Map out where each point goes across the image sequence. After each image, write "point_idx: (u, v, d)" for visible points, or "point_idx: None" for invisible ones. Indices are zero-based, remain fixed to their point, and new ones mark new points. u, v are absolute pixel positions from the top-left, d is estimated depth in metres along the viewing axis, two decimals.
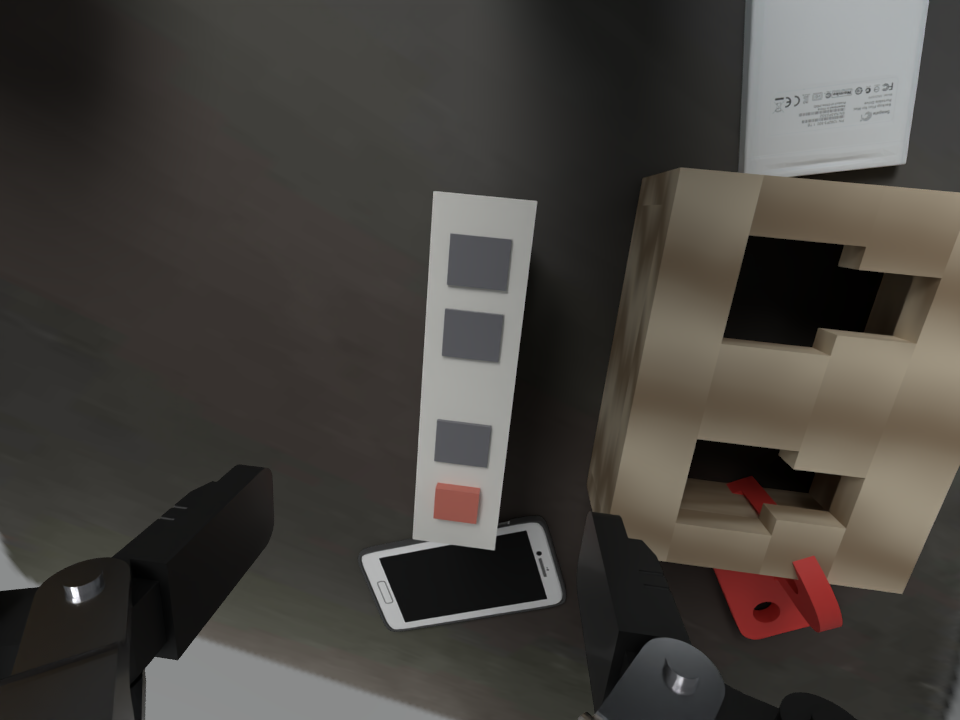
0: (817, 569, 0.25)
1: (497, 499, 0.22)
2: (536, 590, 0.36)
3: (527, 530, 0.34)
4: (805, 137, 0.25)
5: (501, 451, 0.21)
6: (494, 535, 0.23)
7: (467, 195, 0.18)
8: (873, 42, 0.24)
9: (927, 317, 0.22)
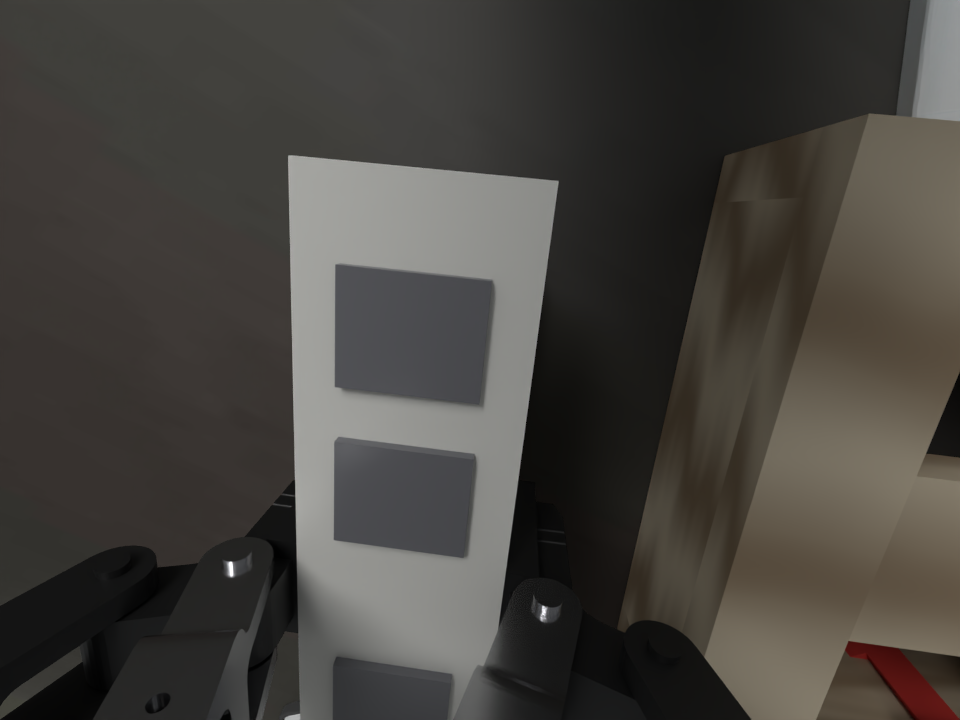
0: None
1: None
2: None
3: None
4: None
5: None
6: None
7: (375, 166, 0.07)
8: None
9: None
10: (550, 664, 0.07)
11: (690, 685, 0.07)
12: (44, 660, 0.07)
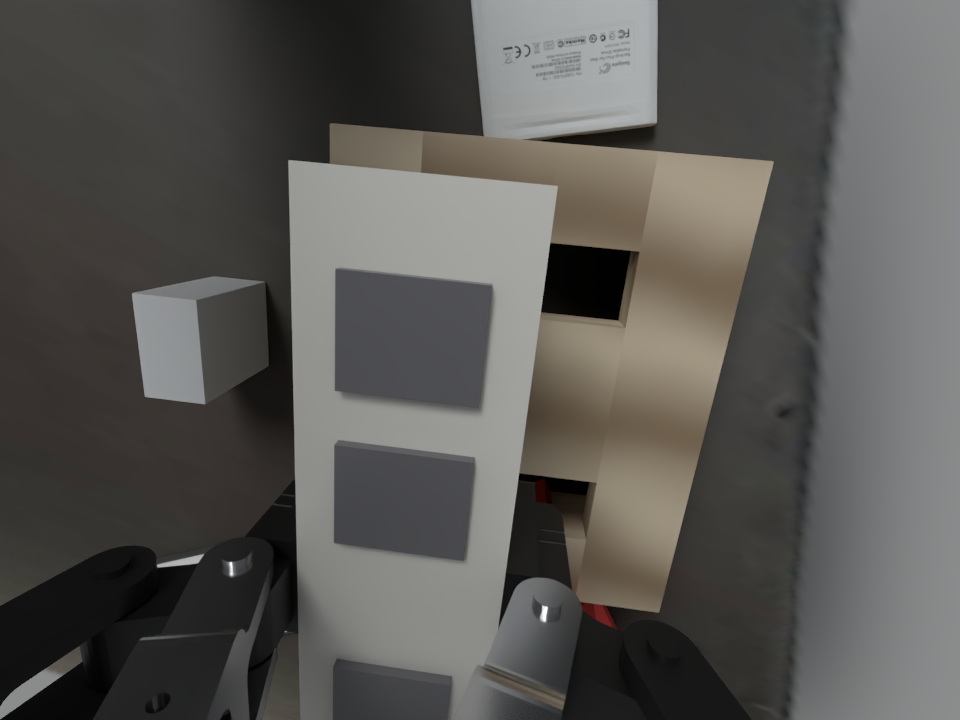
0: None
1: None
2: None
3: None
4: (542, 92, 0.22)
5: None
6: None
7: (375, 171, 0.07)
8: None
9: (632, 297, 0.19)
10: (550, 664, 0.07)
11: (690, 685, 0.07)
12: (44, 660, 0.07)
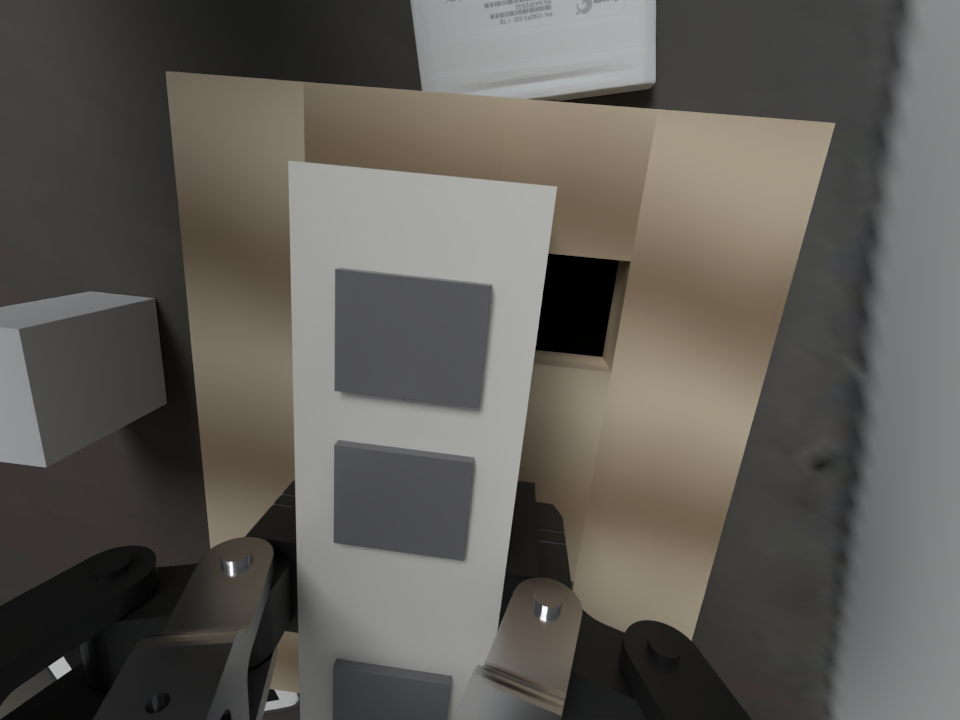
0: None
1: None
2: None
3: None
4: (499, 41, 0.16)
5: None
6: None
7: (375, 171, 0.07)
8: None
9: (621, 328, 0.13)
10: (550, 664, 0.07)
11: (690, 685, 0.07)
12: (44, 660, 0.07)
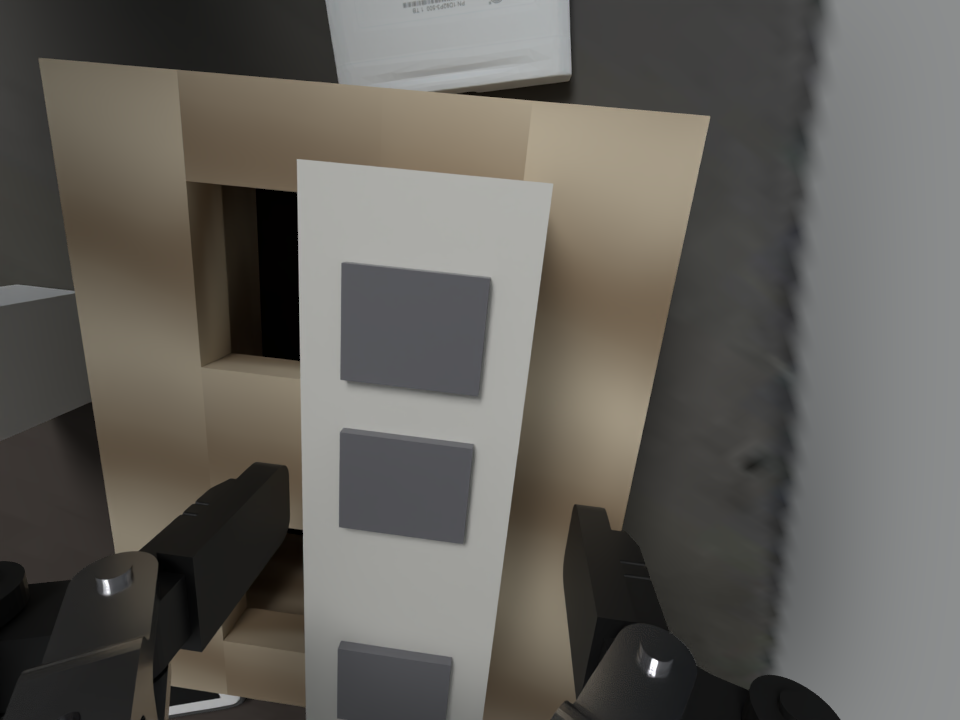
0: None
1: None
2: None
3: None
4: (413, 30, 0.16)
5: (473, 702, 0.10)
6: None
7: (379, 169, 0.07)
8: None
9: None
10: None
11: None
12: None
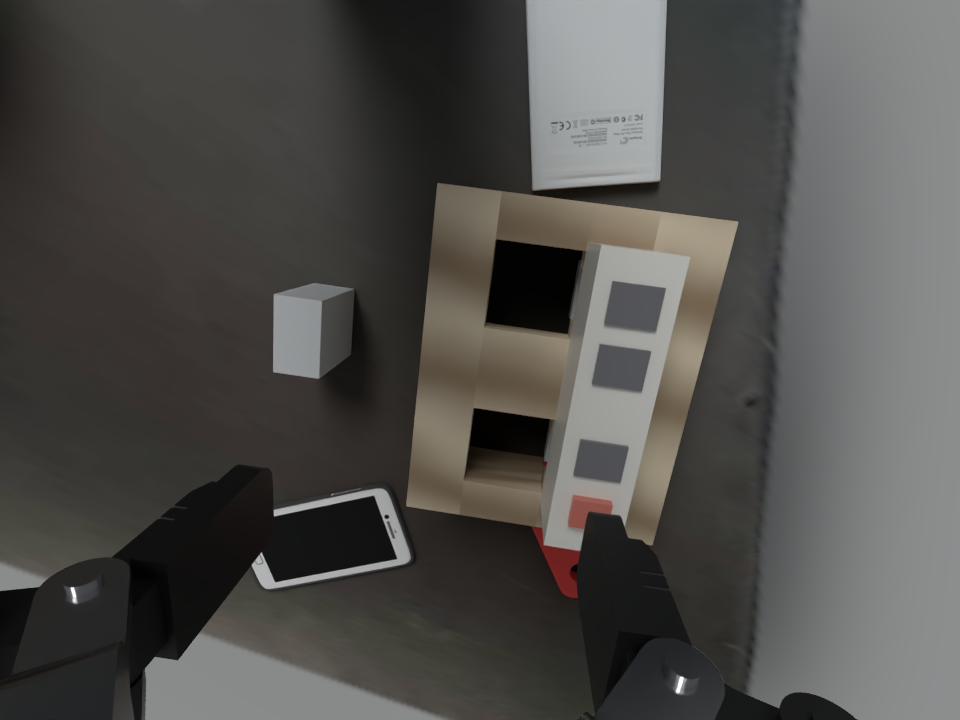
0: None
1: (625, 511, 0.25)
2: (387, 551, 0.40)
3: (375, 495, 0.39)
4: (577, 155, 0.31)
5: (634, 468, 0.24)
6: None
7: (630, 249, 0.22)
8: (624, 80, 0.29)
9: None
10: None
11: None
12: None
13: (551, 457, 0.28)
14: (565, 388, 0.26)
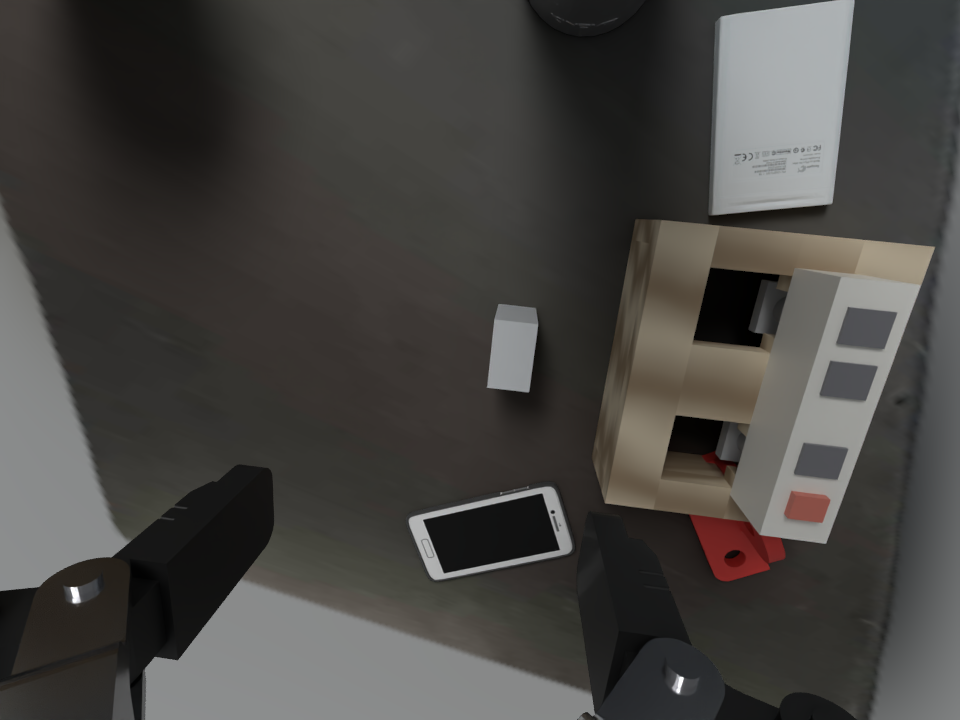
0: None
1: (837, 504, 0.29)
2: (551, 543, 0.44)
3: (543, 493, 0.43)
4: (757, 183, 0.34)
5: (849, 466, 0.28)
6: (829, 531, 0.29)
7: (867, 280, 0.25)
8: (805, 115, 0.32)
9: None
10: None
11: None
12: None
13: (752, 457, 0.32)
14: (774, 397, 0.30)
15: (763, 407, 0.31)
